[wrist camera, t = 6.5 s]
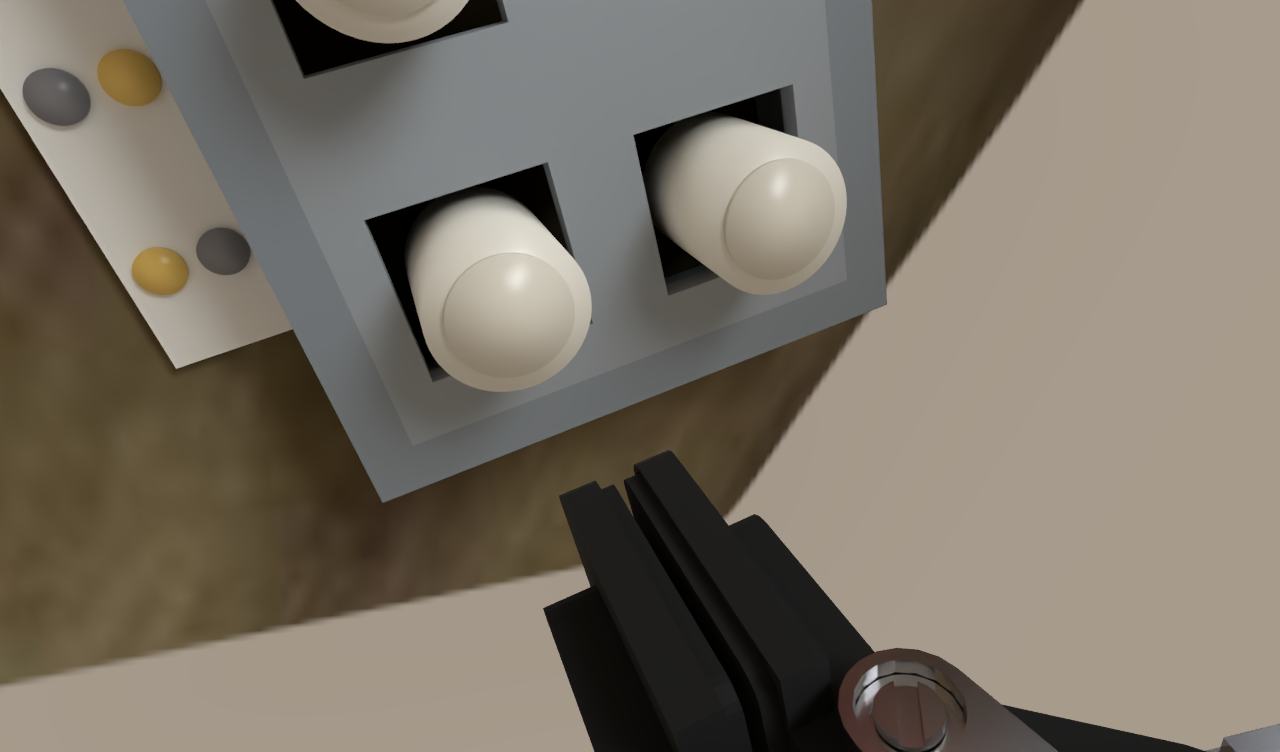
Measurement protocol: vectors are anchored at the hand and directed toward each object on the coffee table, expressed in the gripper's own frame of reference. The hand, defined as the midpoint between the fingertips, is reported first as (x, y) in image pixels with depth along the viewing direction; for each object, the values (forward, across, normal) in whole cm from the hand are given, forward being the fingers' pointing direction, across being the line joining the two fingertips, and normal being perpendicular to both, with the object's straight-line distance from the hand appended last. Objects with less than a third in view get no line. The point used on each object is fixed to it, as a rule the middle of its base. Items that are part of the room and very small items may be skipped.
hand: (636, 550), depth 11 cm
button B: (+14, -8, 0) cm, 16 cm away
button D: (+14, 0, 0) cm, 14 cm away
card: (+17, +8, -4) cm, 19 cm away
